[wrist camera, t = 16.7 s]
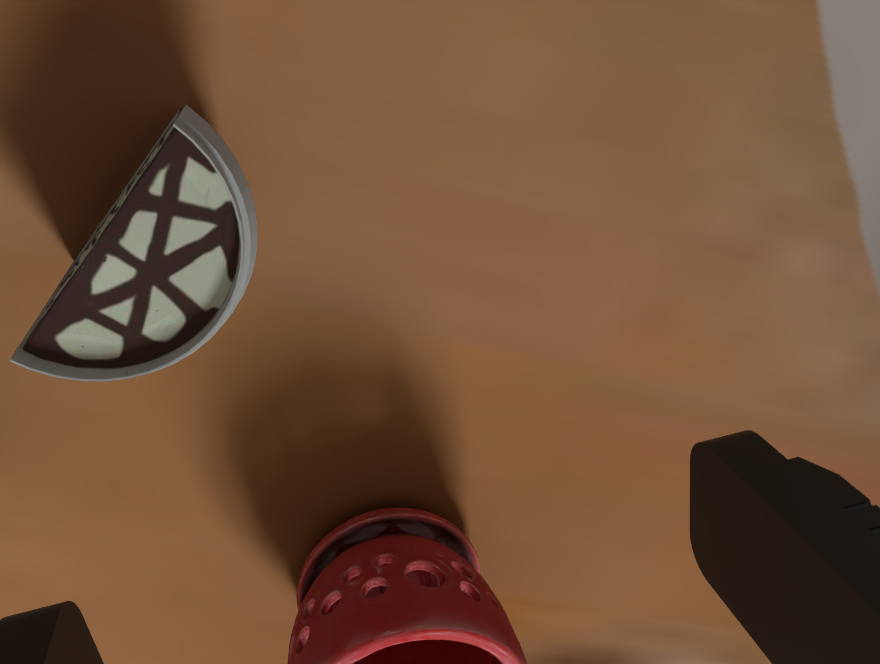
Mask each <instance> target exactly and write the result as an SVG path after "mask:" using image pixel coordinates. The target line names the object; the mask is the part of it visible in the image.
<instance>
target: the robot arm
mask: <svg viewBox="0 0 880 664" xmlns="http://www.w3.org/2000/svg"><path fill="white" fill-rule="evenodd" d="M690 539H691V545H692V549H693V553H694V556H695V558H696V561H697V563H698V566H699V568H700V570H701V572H702V574H703V575H704V577H705V578H706V580H707V581H708V583H709V584H710V585H711V586H712V588H713V589H714V590H715V591H716V593H717V594H718V595H719V597H720V598H721V599H722V600H723V602H724V603H725V604H726V606H727V607H728V608H729V609H730V611H731V612H732V613H733V614H734V616H735V617H736V618H737V620H738V621H739V622H740V623H741V625H742V626H743V627H744V628H745V630H746V631H747V632H748V634H749V635H750V636H751V637H752V639H753V640H754V641H755V642H756V644H757V645H758V646H759V648H760V649H761V650H762V651H763V653H764V654H765V655H766V657H767V658H768V659H769V660H770V662H771V663H772V664H880V508H879V507H878V506H877V505H874V506H872V505H871V503H870V500H869V499H868V498H867V497H866V496H864V495H863V494H862V493H861V492H860V491H858V490H857V489H856V488H855V487H853V486H852V485H851V484H850V483H849V482H847V481H846V480H845V479H844V478H842V477H841V476H840V475H838V474H836V473H834V472H832V471H829V470H827V469H825V468H823V467H820V466H818V465H816V464H814V463H811V462H809V461H807V460H804V459H802V458H800V457H796V458H792V459H789V460H787V459H786V458H785V457H784V456H783V455H782V454H781V453H779V452H778V451H777V450H776V449H775V448H774V447H772V446H771V445H770V444H769V443H768V442H767V441H765V440H764V439H763V438H762V437H761V436H760V435H758V434H757V433H755V432H753V431H749V430H747V431H742V432H738V433H734V434H730V435H727V436H723V437H719V438H715V439H711V440H707V441H703V442H699V443H696V444H695V445H694V446H693V448H692V450H691V455H690ZM0 664H104V663H103V661H102V659H101V656H100V654H99V652H98V650H97V647H96V645H95V643H94V640H93V638H92V636H91V634H90V631H89V629H88V627H87V624H86V622H85V620H84V618H83V615H82V613H81V611H80V609H79V608H78V606H77V605H76V604H75V603H73V602H72V601H66V602H63V603H59V604H55V605H51V606H47V607H43V608H39V609H35V610H31V611H27V612H23V613H19V614H15V615H11V616H7V617H4V618H2V619H1V620H0Z"/></svg>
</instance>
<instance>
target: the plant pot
mask: <svg viewBox="0 0 880 664" xmlns="http://www.w3.org/2000/svg"><path fill="white" fill-rule="evenodd" d="M297 606H298V610H299V611H298V614H297V617H296V620H295V623H294V627H293V631H292V634H291V639H290V645H289V654H288V664H527V662H526V659H525V657H524V654H523V651H522V648H521V646H520V643H519V641H518V639H517V637H516V635H515V633H514V631H513V628H512V626H511V624H510V621H509V619H508V617H507V615H506V613H505V611H504V609H503V607H502V605H501V604H500V602H499V600H498V599H497V597H496V596H495V594H494V593H493V591H492V590H491V588H490V587H489V585H488V584H487V583H486V581H485V580H484V579H483V578H482V576H481V575H480V567H479V560H478V556H477V554H476V551H475V549H474V548H473V546H472V544H471V542H470V541H469V539H468V538H467V537H466V536H465V535H464V533H463V532H462V531H461V530H459V529H458V528H457V527H456V526H455V525H453V524H452V523H451V522H449V521H447V520H446V519H444V518H442V517H440V516H438V515H436V514H433V513H430V512H427V511H423V510H419V509H412V508H384V509H378V510H374V511H370V512H366V513H363V514H360V515H358V516H356V517H353V518H351V519H349V520H347V521H345V522H344V523H342V524H341V525H339V526H337V527H336V528H335V529H333V530H332V531H331V532H329V533H328V534H327V535H326V536H325V537H324V538H323V539H322V540H321V541H320V542H319V543H318V544H317V545H316V546H315V547H314V549H313V550H312V552H311V553H310V554H309V556H308V558H307V559H306V561H305V563H304V565H303V567H302V570H301V573H300V576H299V580H298V585H297ZM499 660H500V661H499Z"/></svg>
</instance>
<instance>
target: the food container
mask: <svg viewBox="0 0 880 664" xmlns="http://www.w3.org/2000/svg"><path fill="white" fill-rule="evenodd" d="M257 236H258V229H257V220H256V212H255V206H254V202H253V199H252V196H251V192H250V189H249V185H248V183H247V181H246V178H245V176H244V174H243V172H242V170H241V168H240V166H239V164H238V162H237V160H236V159H235V157H234V156H233V154H232V153H231V151H230V150H229V148H228V147H227V145H226V144H225V142H224V141H223V139H222V138H221V137H220V136H219V135H218V134H217V133H216V132H215V131H214V129H213V128H212V127H211V126H210V125H209V124H208V123H207V122H206V121H205V120H204V119H203V118H202V117H201V116H199V115H198V114H197V113H196V112H195V111H193V110H192V109H191V108H190V107H189V106H187V105H185V107H184V108H183V110H181V109H179V110H178V112H177V113H176V114H175V116H174V117H173V119H172V120H171V122H170V123H169V125H168V126H167V127H166V129H165V130H164V132H163V133H162V135H161V136H160V138H159V139H158V140H157V142H156V143H155V145H154V146H153V148H152V149H151V151H150V152H149V153H148V155H147V156H146V158H145V159H144V161H143V162H142V164H141V165H140V166H139V168H138V169H137V171H136V172H135V174H134V175H133V177H132V178H131V179H130V181H129V182H128V184H127V185H126V187H125V188H124V190H123V191H122V192H121V194H120V195H119V197H118V198H117V200H116V201H115V203H114V204H113V205H112V207H111V208H110V210H109V211H108V213H107V214H106V216H105V217H104V218H103V220H102V221H101V223H100V224H99V226H98V227H97V229H96V230H95V232H94V233H93V234H92V236H91V237H90V239H89V240H88V242H87V243H86V245H85V246H84V247H83V249H82V250H81V252H80V253H79V255H78V256H77V258H76V259H75V260H74V262H73V263H72V265H71V267H70V268H69V270H68V271H67V273H66V274H65V276H64V277H63V279H62V280H61V282H60V284H59V285H58V287H57V288H56V290H55V291H54V293H53V294H52V296H51V297H50V299H49V301H48V302H47V304H46V305H45V307H44V308H43V310H42V311H41V313H40V314H39V316H38V318H37V319H36V321H35V322H34V324H33V325H32V327H31V328H30V330H29V331H28V333H27V335H26V336H25V338H24V339H23V341H22V342H21V344H20V345H19V347H18V348H17V349H16V351H15V352H14V354H13V356H12V357H11V359H10V362H13V363H15V364H17V365H20V366H22V367H24V368H27V369H29V370H32V371H35V372H39V373H42V374H46V375H49V376H53V377H57V378H64V379H70V380H77V381H111V380H120V379H128V378H132V377H136V376H140V375H144V374H148V373H152V372H155V371H157V370H160V369H162V368H165V367H167V366H170V365H172V364H175V363H176V362H178V361H180V360H182V359H183V358H185V357H187V356H188V355H190V354H192V353H194V352H195V351H196V350H197V349H198V348H200V347H201V346H202V345H203V344H205V343H206V342H207V341H208V340H210V339H211V338H212V337H213V335H214V334H215V333H216V332H217V331H218V330H219V329H220V328H221V326H222V325H223V324H224V323H225V322H226V321H227V319H228V318H229V317H230V315H231V314H232V313H233V311H234V310H235V308H236V306H237V305H238V303H239V302H240V300H241V298H242V297H243V295H244V293H245V290H246V288H247V285H248V283H249V281H250V278H251V276H252V272H253V268H254V263H255V258H256V254H257Z"/></svg>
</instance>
